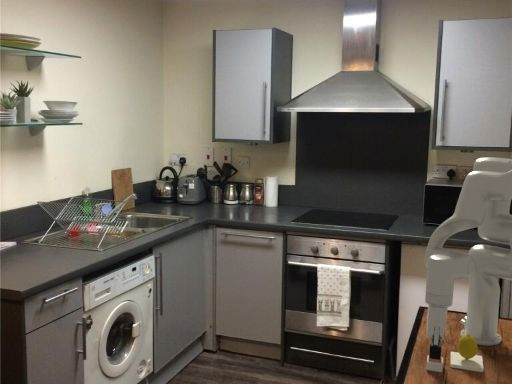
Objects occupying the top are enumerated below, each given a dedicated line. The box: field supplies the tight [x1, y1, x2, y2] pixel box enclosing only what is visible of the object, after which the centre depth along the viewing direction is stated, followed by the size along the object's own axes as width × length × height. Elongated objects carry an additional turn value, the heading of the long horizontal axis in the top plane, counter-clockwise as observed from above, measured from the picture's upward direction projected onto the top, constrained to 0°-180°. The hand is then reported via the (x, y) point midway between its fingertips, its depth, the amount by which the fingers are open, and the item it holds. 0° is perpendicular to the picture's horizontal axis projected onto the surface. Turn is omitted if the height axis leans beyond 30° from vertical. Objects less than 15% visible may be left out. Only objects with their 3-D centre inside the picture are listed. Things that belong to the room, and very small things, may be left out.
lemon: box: [457, 334, 478, 360], centre depth 168 cm, size 6×6×8 cm
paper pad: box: [450, 351, 484, 373], centre depth 168 cm, size 9×9×1 cm
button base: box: [426, 354, 444, 373], centre depth 165 cm, size 4×4×3 cm
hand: (434, 357), depth 164 cm, fingers closed
